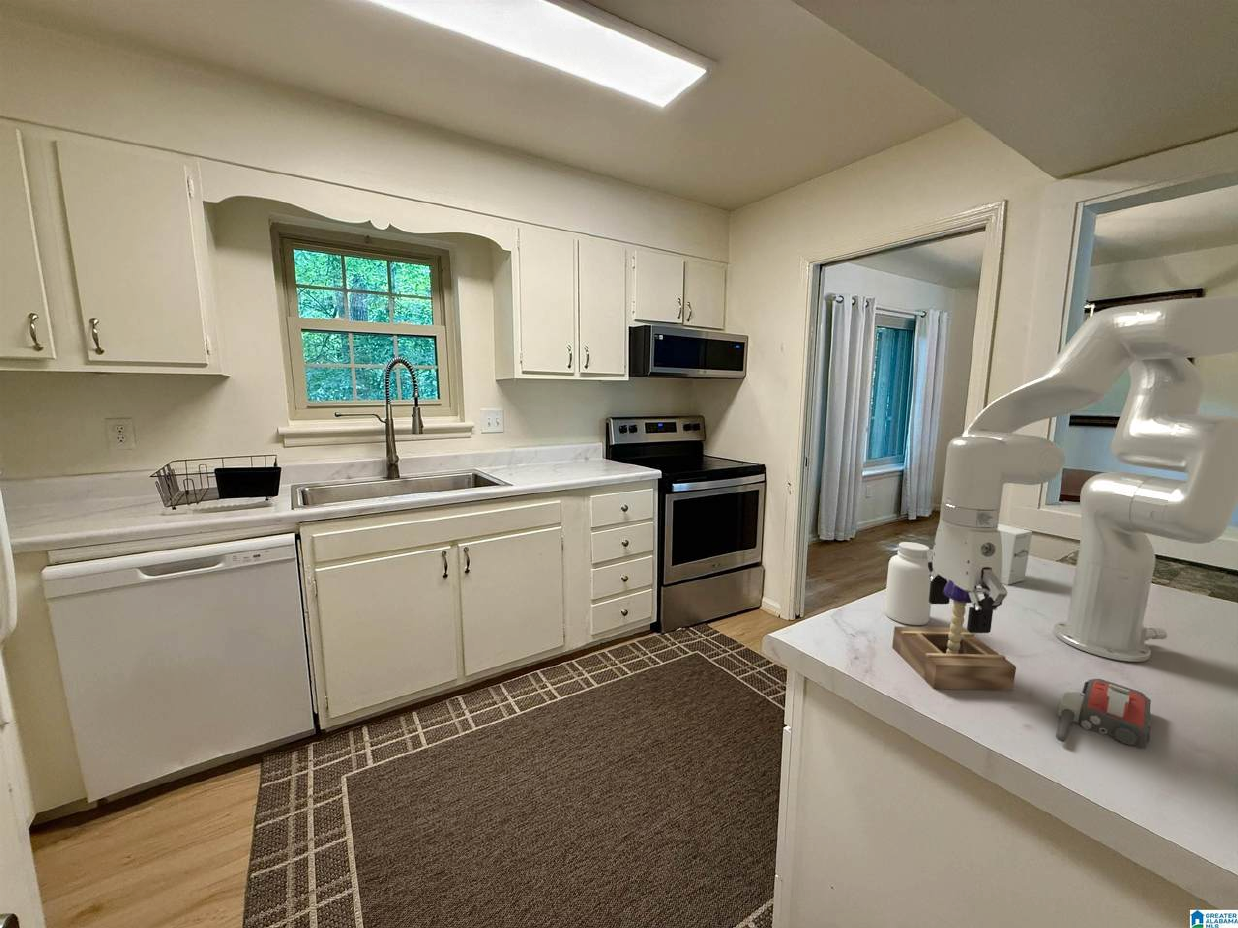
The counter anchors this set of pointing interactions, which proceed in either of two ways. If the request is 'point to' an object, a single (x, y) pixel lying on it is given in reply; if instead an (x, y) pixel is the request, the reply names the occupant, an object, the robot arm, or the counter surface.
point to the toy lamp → (956, 615)
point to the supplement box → (1014, 553)
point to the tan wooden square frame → (953, 660)
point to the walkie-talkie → (1107, 712)
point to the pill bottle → (908, 585)
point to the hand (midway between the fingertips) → (957, 616)
